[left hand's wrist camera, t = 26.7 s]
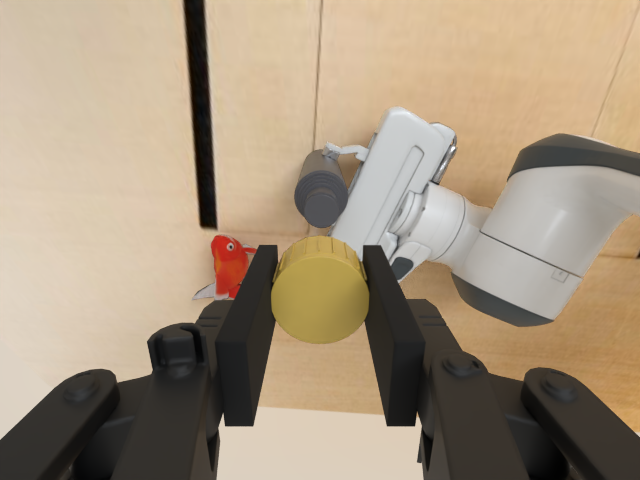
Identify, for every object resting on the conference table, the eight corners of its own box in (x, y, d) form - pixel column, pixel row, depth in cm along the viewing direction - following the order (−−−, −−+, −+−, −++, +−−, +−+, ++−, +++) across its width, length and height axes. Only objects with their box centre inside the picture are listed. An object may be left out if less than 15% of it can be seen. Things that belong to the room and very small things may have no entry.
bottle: (342, 177, 46) (360, 230, 25) (310, 188, 47) (301, 248, 26) (332, 144, 45) (342, 171, 24) (299, 155, 45) (280, 191, 24)
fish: (295, 235, 44) (253, 292, 37) (289, 304, 55) (256, 357, 48) (223, 207, 46) (172, 255, 39) (231, 278, 57) (192, 326, 50)
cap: (362, 230, 14) (369, 250, 12) (366, 310, 15) (373, 341, 13) (270, 238, 14) (261, 259, 12) (282, 317, 15) (276, 349, 13)
